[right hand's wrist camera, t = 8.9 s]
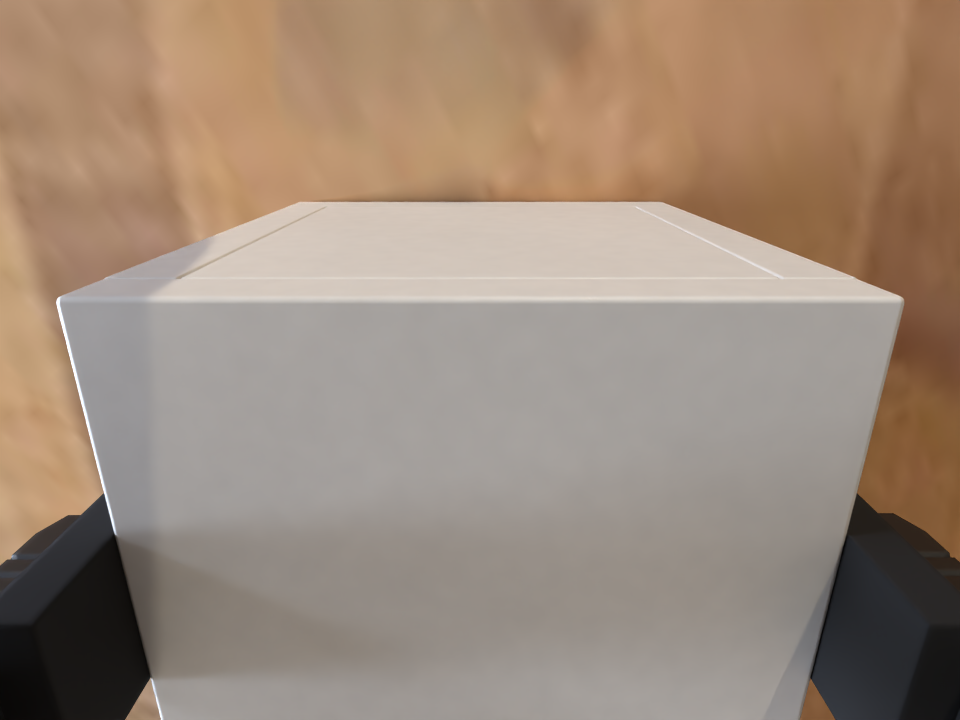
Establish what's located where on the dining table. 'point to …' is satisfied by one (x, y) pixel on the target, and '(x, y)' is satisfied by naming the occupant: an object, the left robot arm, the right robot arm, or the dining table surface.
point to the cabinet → (480, 461)
